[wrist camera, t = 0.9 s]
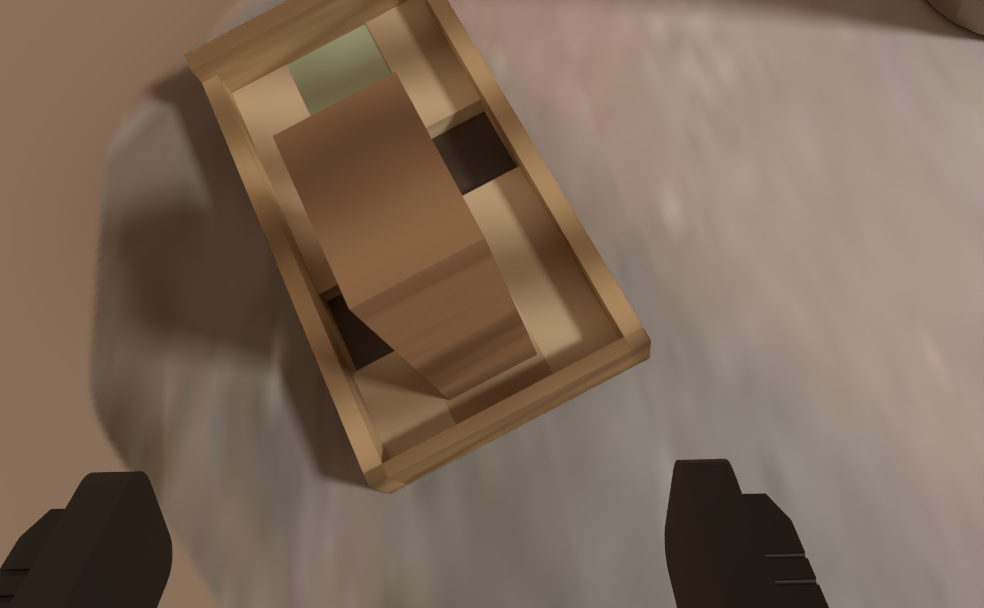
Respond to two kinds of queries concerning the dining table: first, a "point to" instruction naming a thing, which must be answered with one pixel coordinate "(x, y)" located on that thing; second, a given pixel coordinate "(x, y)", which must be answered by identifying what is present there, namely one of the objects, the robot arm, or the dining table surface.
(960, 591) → the dining table surface
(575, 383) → the tray
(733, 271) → the dining table surface
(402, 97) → the walnut block
